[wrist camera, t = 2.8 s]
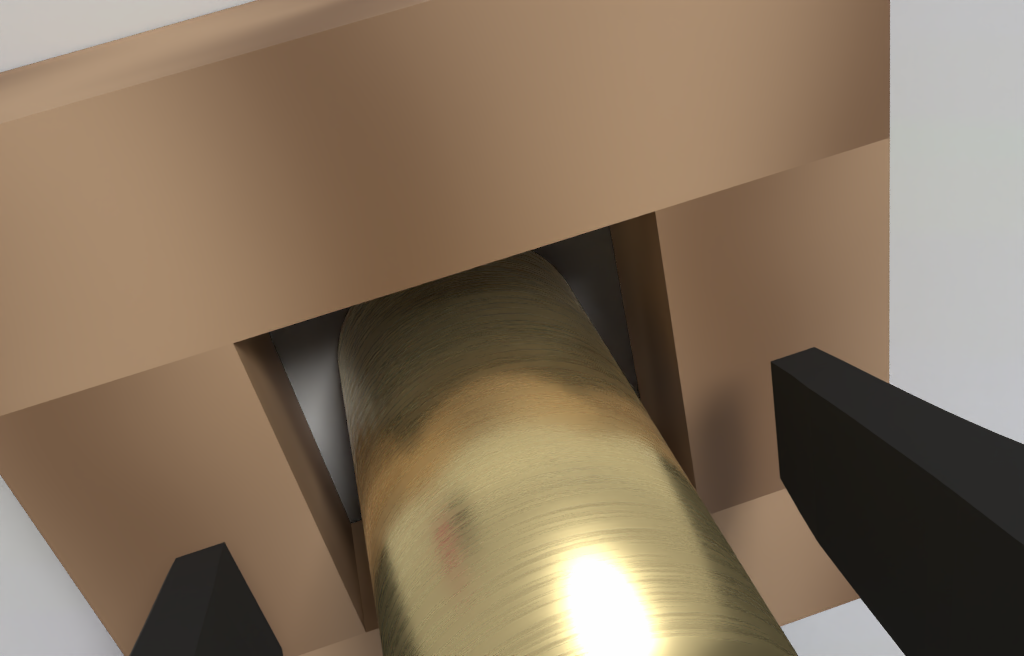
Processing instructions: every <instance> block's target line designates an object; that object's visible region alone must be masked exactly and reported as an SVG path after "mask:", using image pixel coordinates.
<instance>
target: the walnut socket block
mask: <svg viewBox="0 0 1024 656" xmlns="http://www.w3.org/2000/svg"><path fill="white" fill-rule="evenodd" d="M889 179H890V0H256V1H253V2H249V3H246V4H242V5H239V6H235V7H232V8H228V9H224V10H221V11H217V12H214V13H210V14H207V15H203V16H200V17H196V18H193V19H189V20H185V21H182V22H178V23H175V24H171V25H168V26H164V27H161V28H157V29H154V30H150V31H146V32H143V33H139V34H136V35H132V36H129V37H125V38H122V39H118V40H115V41H111V42H108V43H104V44H100V45H97V46H93V47H90V48H86V49H83V50H79V51H76V52H72V53H69V54H65V55H61V56H58V57H54V58H51V59H47V60H44V61H40V62H37V63H33V64H30V65H26V66H22V67H19V68H15V69H12V70H8V71H5V72H1V73H0V475H1V476H2V478H3V479H4V481H5V482H6V484H7V485H8V487H9V488H10V489H11V491H12V492H13V494H14V495H15V497H16V498H17V500H18V501H19V503H20V504H21V506H22V507H23V508H24V510H25V511H26V513H27V514H28V516H29V517H30V519H31V520H32V522H33V523H34V524H35V526H36V527H37V529H38V530H39V532H40V533H41V535H42V536H43V538H44V539H45V541H46V542H47V543H48V545H49V546H50V548H51V549H52V551H53V552H54V554H55V555H56V557H57V558H58V559H59V561H60V562H61V564H62V565H63V567H64V568H65V570H66V571H67V573H68V574H69V575H70V577H71V578H72V580H73V581H74V583H75V584H76V586H77V587H78V589H79V590H80V592H81V593H82V594H83V596H84V597H85V599H86V600H87V602H88V603H89V605H90V606H91V608H92V609H93V610H94V612H95V613H96V615H97V616H98V618H99V619H100V621H101V622H102V624H103V625H104V627H105V628H106V629H107V631H108V632H109V634H110V635H111V637H112V638H113V640H114V641H115V643H116V644H117V645H118V647H119V648H120V650H121V651H122V653H123V654H124V656H129V655H130V653H131V651H132V649H133V647H134V645H135V643H136V641H137V638H138V636H139V634H140V632H141V630H142V628H143V626H144V624H145V621H146V619H147V617H148V615H149V613H150V611H151V608H152V606H153V604H154V602H155V600H156V598H157V595H158V593H159V591H160V589H161V587H162V585H163V582H164V580H165V578H166V576H167V574H168V572H169V570H170V568H171V566H172V564H173V562H174V561H175V559H176V558H178V557H181V556H184V555H187V554H190V553H193V552H196V551H199V550H202V549H205V548H208V547H211V546H214V545H217V544H220V543H223V542H225V544H226V546H227V548H228V549H229V551H230V553H231V555H232V557H233V559H234V561H235V562H236V564H237V566H238V568H239V570H240V572H241V573H242V575H243V577H244V579H245V581H246V583H247V585H248V586H249V588H250V590H251V592H252V594H253V596H254V598H255V599H256V601H257V603H258V605H259V607H260V609H261V610H262V612H263V614H264V616H265V618H266V620H267V622H268V623H269V625H270V627H271V629H272V631H273V633H274V635H275V636H276V638H277V640H278V642H279V644H280V646H281V647H282V651H283V656H383V653H382V646H381V640H380V633H379V627H378V620H377V614H376V607H375V600H374V594H373V587H372V581H371V574H370V568H369V561H368V555H367V548H366V542H365V535H364V529H363V522H362V520H361V521H358V522H355V523H352V524H351V523H350V521H349V518H348V516H347V514H346V511H345V509H344V507H343V504H342V502H341V500H340V497H339V495H338V493H337V490H336V488H335V486H334V483H333V481H332V479H331V476H330V474H329V472H328V470H327V467H326V465H325V463H324V460H323V458H322V456H321V453H320V451H319V449H318V446H317V444H316V442H315V439H314V437H313V435H312V432H311V430H310V428H309V425H308V423H307V421H306V418H305V416H304V414H303V411H302V409H301V407H300V405H299V402H298V400H297V398H296V395H295V393H294V391H293V388H292V386H291V384H290V381H289V379H288V377H287V374H286V372H285V370H284V367H283V365H282V363H281V360H280V358H279V356H278V353H277V351H276V349H275V347H274V344H273V342H272V340H271V337H270V335H269V333H268V332H270V331H274V330H277V329H280V328H283V327H286V326H290V325H293V324H296V323H299V322H302V321H306V320H309V319H312V318H315V317H318V316H322V315H325V314H328V313H331V312H334V311H338V310H341V309H344V308H347V307H350V306H353V305H357V304H360V303H363V302H366V301H369V300H373V299H376V298H379V297H382V296H385V295H389V294H392V293H395V292H398V291H401V290H405V289H408V288H411V287H414V286H417V285H421V284H424V283H427V282H430V281H433V280H437V279H440V278H443V277H446V276H449V275H453V274H456V273H459V272H462V271H465V270H469V269H472V268H475V267H478V266H481V265H485V264H488V263H491V262H494V261H497V260H501V259H504V258H507V257H510V256H513V255H517V254H520V253H523V252H526V251H529V250H533V249H536V248H539V247H542V246H545V245H548V244H552V243H555V242H558V241H561V240H564V239H568V238H571V237H574V236H577V235H580V234H584V233H587V232H590V231H593V230H596V229H600V228H603V227H606V226H609V227H610V232H611V238H612V243H613V249H614V254H615V260H616V266H617V271H618V277H619V282H620V288H621V293H622V299H623V305H624V310H625V316H626V321H627V327H628V332H629V338H630V343H631V349H632V355H633V360H634V366H635V371H636V377H637V382H638V388H639V393H640V399H641V403H642V405H643V406H644V408H645V410H646V411H647V413H648V414H649V416H650V418H651V419H652V421H653V422H654V424H655V426H656V427H657V429H658V431H659V432H660V434H661V435H662V437H663V439H664V440H665V442H666V443H667V445H668V447H669V448H670V450H671V452H672V453H673V455H674V456H675V458H676V460H677V461H678V463H679V464H680V466H681V468H682V469H683V471H684V473H685V474H686V476H687V477H688V479H689V481H690V482H691V484H692V485H693V487H694V489H695V490H696V492H697V493H698V495H699V497H700V498H701V500H702V502H703V503H704V505H705V506H706V508H707V510H708V511H709V513H710V514H711V516H712V518H713V519H714V521H715V523H716V524H717V526H718V527H719V529H720V531H721V532H722V534H723V535H724V537H725V539H726V540H727V542H728V544H729V545H730V547H731V548H732V550H733V552H734V553H735V555H736V556H737V558H738V560H739V561H740V563H741V565H742V566H743V568H744V569H745V571H746V573H747V574H748V576H749V577H750V579H751V581H752V582H753V584H754V586H755V587H756V589H757V590H758V592H759V594H760V595H761V597H762V598H763V600H764V602H765V603H766V605H767V607H768V608H769V610H770V611H771V613H772V615H773V616H774V618H775V619H776V621H777V623H778V624H779V626H783V625H786V624H789V623H791V622H794V621H797V620H800V619H803V618H805V617H808V616H811V615H814V614H817V613H819V612H822V611H825V610H828V609H831V608H833V607H836V606H839V605H842V604H845V603H847V602H850V601H853V600H856V599H859V598H860V597H859V596H858V594H857V593H856V592H855V590H854V589H853V588H852V586H851V585H850V584H849V583H848V581H847V580H846V579H845V577H844V576H843V575H842V573H841V572H840V571H839V570H838V568H837V567H836V566H835V564H834V563H833V562H832V560H831V559H830V558H829V557H828V555H827V554H826V553H825V551H824V550H823V549H822V547H821V546H820V545H819V543H818V542H817V540H816V539H815V537H814V535H813V534H812V532H811V530H810V529H809V527H808V525H807V524H806V522H805V520H804V519H803V517H802V516H801V514H800V512H799V510H798V509H797V507H796V505H795V503H794V502H793V500H792V498H791V496H790V495H789V493H788V491H787V489H786V488H785V486H784V484H783V482H782V481H781V479H780V472H779V459H778V447H777V435H776V423H775V411H774V399H773V387H772V375H771V363H770V361H773V360H776V359H779V358H782V357H785V356H788V355H791V354H794V353H797V352H801V351H804V350H807V349H810V348H813V347H815V348H818V349H820V350H822V351H824V352H826V353H828V354H830V355H832V356H835V357H837V358H839V359H841V360H843V361H845V362H847V363H849V364H851V365H853V366H855V367H857V368H859V369H861V370H863V371H865V372H867V373H869V374H871V375H873V376H875V377H877V378H879V379H881V380H883V381H885V382H887V383H889Z"/></svg>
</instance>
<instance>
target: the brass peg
mask: <svg viewBox="0 0 1024 656" xmlns="http://www.w3.org/2000/svg"><path fill="white" fill-rule="evenodd" d="M338 364H339V372H340V378H341V385H342V391H343V398H344V405H345V411H346V418H347V424H348V431H349V437H350V444H351V450H352V457H353V463H354V470H355V476H356V483H357V489H358V496H359V502H360V509H361V516H362V522H363V529H364V535H365V542H366V548H367V555H368V561H369V568H370V574H371V581H372V587H373V594H374V600H375V607H376V614H377V620H378V627H379V633H380V640H381V646H382V653H383V656H798V655H797V653H796V652H795V650H794V648H793V647H792V645H791V644H790V642H789V640H788V639H787V637H786V636H785V634H784V632H783V631H782V629H781V628H780V626H779V624H778V623H777V621H776V619H775V618H774V616H773V615H772V613H771V611H770V610H769V608H768V607H767V605H766V603H765V602H764V600H763V598H762V597H761V595H760V594H759V592H758V590H757V589H756V587H755V586H754V584H753V582H752V581H751V579H750V577H749V576H748V574H747V573H746V571H745V569H744V568H743V566H742V565H741V563H740V561H739V560H738V558H737V556H736V555H735V553H734V552H733V550H732V548H731V547H730V545H729V544H728V542H727V540H726V539H725V537H724V535H723V534H722V532H721V531H720V529H719V527H718V526H717V524H716V523H715V521H714V519H713V518H712V516H711V514H710V513H709V511H708V510H707V508H706V506H705V505H704V503H703V502H702V500H701V498H700V497H699V495H698V493H697V492H696V490H695V489H694V487H693V485H692V484H691V482H690V481H689V479H688V477H687V476H686V474H685V473H684V471H683V469H682V468H681V466H680V464H679V463H678V461H677V460H676V458H675V456H674V455H673V453H672V452H671V450H670V448H669V447H668V445H667V443H666V442H665V440H664V439H663V437H662V435H661V434H660V432H659V431H658V429H657V427H656V426H655V424H654V422H653V421H652V419H651V418H650V416H649V414H648V413H647V411H646V410H645V408H644V406H643V405H642V403H641V401H640V400H639V398H638V397H637V395H636V393H635V392H634V390H633V389H632V387H631V385H630V384H629V382H628V380H627V379H626V377H625V376H624V374H623V372H622V371H621V369H620V368H619V366H618V364H617V363H616V361H615V359H614V358H613V356H612V355H611V353H610V351H609V350H608V348H607V347H606V345H605V343H604V342H603V340H602V338H601V337H600V335H599V334H598V332H597V330H596V329H595V327H594V326H593V324H592V322H591V321H590V319H589V318H588V316H587V314H586V313H585V311H584V309H583V308H582V306H581V305H580V303H579V301H578V300H577V298H576V297H575V295H574V293H573V292H572V290H571V288H570V287H569V285H568V284H567V282H566V281H565V279H564V278H563V276H562V275H561V274H560V273H559V272H558V271H557V270H556V269H555V268H554V266H553V265H552V264H550V263H549V262H548V261H547V260H545V259H544V258H543V257H541V256H540V255H538V254H537V253H535V252H533V251H531V250H529V251H526V252H523V253H520V254H517V255H513V256H510V257H507V258H504V259H501V260H497V261H494V262H491V263H488V264H485V265H481V266H478V267H475V268H472V269H469V270H465V271H462V272H459V273H456V274H453V275H449V276H446V277H443V278H440V279H437V280H433V281H430V282H427V283H424V284H421V285H417V286H414V287H411V288H408V289H405V290H401V291H398V292H395V293H392V294H389V295H385V296H382V297H379V298H376V299H373V300H369V301H366V302H363V303H360V304H357V305H353V306H351V307H350V309H349V311H348V313H347V315H346V317H345V320H344V323H343V326H342V329H341V332H340V338H339V344H338Z"/></svg>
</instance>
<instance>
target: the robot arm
mask: <svg viewBox="0 0 1024 656" xmlns="http://www.w3.org/2000/svg"><path fill="white" fill-rule="evenodd" d="M770 363H771V375H772V387H773V399H774V411H775V423H776V435H777V447H778V459H779V472H780V479H781V481H782V482H783V484H784V486H785V488H786V489H787V491H788V493H789V495H790V496H791V498H792V500H793V502H794V503H795V505H796V507H797V509H798V510H799V512H800V514H801V516H802V517H803V519H804V520H805V522H806V524H807V525H808V527H809V529H810V530H811V532H812V534H813V535H814V537H815V539H816V540H817V542H818V543H819V545H820V546H821V547H822V549H823V550H824V551H825V553H826V554H827V555H828V557H829V558H830V559H831V560H832V562H833V563H834V564H835V566H836V567H837V568H838V570H839V571H840V572H841V573H842V575H843V576H844V577H845V579H846V580H847V581H848V583H849V584H850V585H851V586H852V588H853V589H854V590H855V592H856V593H857V594H858V596H859V597H860V598H861V599H862V601H863V602H864V603H865V604H866V606H867V607H868V608H869V610H870V611H871V612H872V613H873V615H874V616H875V617H876V619H877V620H878V621H879V622H880V624H881V625H882V626H883V627H884V629H885V630H886V631H887V633H888V634H889V635H890V636H891V638H892V639H893V640H894V642H895V643H896V644H897V645H898V647H899V648H900V649H901V651H902V652H903V653H904V654H905V656H1024V444H1022V443H1019V442H1017V441H1014V440H1012V439H1009V438H1007V437H1004V436H1002V435H999V434H997V433H995V432H992V431H990V430H988V429H985V428H983V427H981V426H979V425H976V424H974V423H972V422H969V421H967V420H965V419H963V418H960V417H958V416H956V415H954V414H952V413H949V412H947V411H945V410H943V409H941V408H939V407H937V406H934V405H932V404H930V403H928V402H926V401H924V400H922V399H920V398H918V397H916V396H913V395H911V394H909V393H907V392H905V391H903V390H901V389H899V388H897V387H895V386H893V385H891V384H889V383H887V382H885V381H883V380H881V379H879V378H877V377H875V376H873V375H871V374H869V373H867V372H865V371H863V370H861V369H859V368H857V367H855V366H853V365H851V364H849V363H847V362H845V361H843V360H841V359H839V358H837V357H835V356H832V355H830V354H828V353H826V352H824V351H822V350H820V349H818V348H815V347H813V348H810V349H807V350H804V351H801V352H797V353H794V354H791V355H788V356H785V357H782V358H779V359H776V360H773V361H770ZM129 656H283V651H282V647H281V646H280V644H279V642H278V640H277V638H276V636H275V635H274V633H273V631H272V629H271V627H270V625H269V623H268V622H267V620H266V618H265V616H264V614H263V612H262V610H261V609H260V607H259V605H258V603H257V601H256V599H255V598H254V596H253V594H252V592H251V590H250V588H249V586H248V585H247V583H246V581H245V579H244V577H243V575H242V573H241V572H240V570H239V568H238V566H237V564H236V562H235V561H234V559H233V557H232V555H231V553H230V551H229V549H228V548H227V546H226V544H225V542H223V543H220V544H217V545H214V546H211V547H208V548H205V549H202V550H199V551H196V552H193V553H190V554H187V555H184V556H181V557H178V558H176V559H175V561H174V562H173V564H172V566H171V568H170V570H169V572H168V574H167V576H166V578H165V580H164V582H163V585H162V587H161V589H160V591H159V593H158V595H157V598H156V600H155V602H154V604H153V606H152V608H151V611H150V613H149V615H148V617H147V619H146V621H145V624H144V626H143V628H142V630H141V632H140V634H139V636H138V638H137V641H136V643H135V645H134V647H133V649H132V651H131V653H130V655H129Z"/></svg>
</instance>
